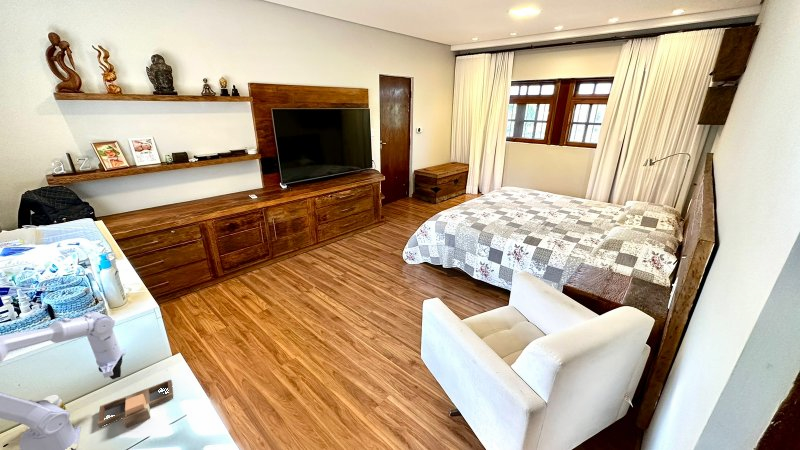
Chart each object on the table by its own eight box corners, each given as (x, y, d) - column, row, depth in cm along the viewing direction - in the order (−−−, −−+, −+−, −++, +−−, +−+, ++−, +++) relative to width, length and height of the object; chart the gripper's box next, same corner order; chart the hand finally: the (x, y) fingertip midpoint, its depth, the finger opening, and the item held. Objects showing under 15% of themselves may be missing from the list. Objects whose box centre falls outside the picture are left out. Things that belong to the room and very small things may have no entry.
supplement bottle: (54, 427, 95) (44, 409, 92) (42, 423, 96) (32, 405, 93) (72, 413, 100) (64, 395, 96) (61, 409, 100) (51, 391, 97)
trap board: (98, 439, 93) (94, 431, 92) (101, 410, 101) (98, 401, 100) (174, 407, 104) (172, 399, 103) (172, 383, 112) (170, 375, 111)
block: (128, 419, 98) (125, 410, 96) (128, 408, 101) (125, 400, 99) (146, 412, 100) (143, 403, 99) (145, 401, 103) (143, 393, 102)
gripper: (120, 356, 94) (131, 387, 100) (122, 327, 105) (132, 357, 110) (88, 366, 90) (102, 397, 96) (94, 335, 101) (106, 365, 106)
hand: (116, 376), depth 103 cm, fingers closed
